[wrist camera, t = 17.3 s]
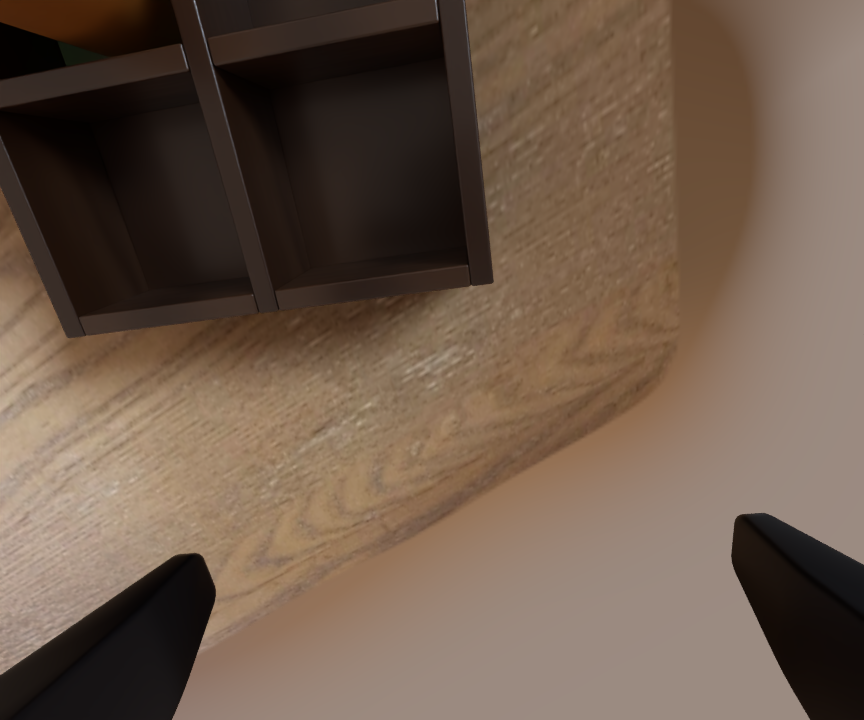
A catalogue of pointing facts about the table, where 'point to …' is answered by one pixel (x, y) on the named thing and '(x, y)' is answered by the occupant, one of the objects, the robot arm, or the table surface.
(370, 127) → the rack
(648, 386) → the table surface
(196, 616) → the robot arm
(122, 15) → the amber bottle
